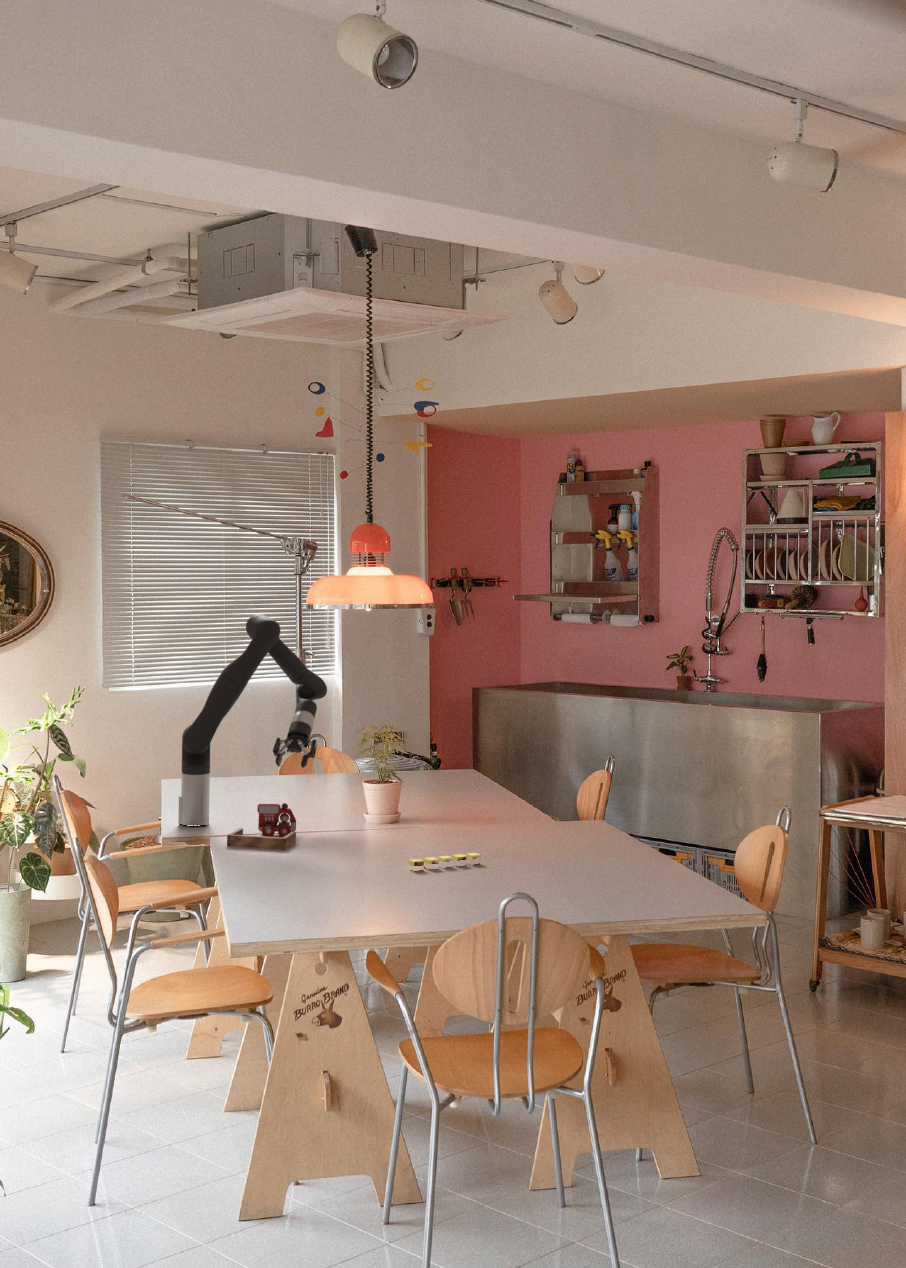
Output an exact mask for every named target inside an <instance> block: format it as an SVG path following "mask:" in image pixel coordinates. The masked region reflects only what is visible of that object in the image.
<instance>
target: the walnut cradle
mask: <svg viewBox="0 0 906 1268" xmlns="http://www.w3.org/2000/svg"><path fill="white" fill-rule="evenodd" d="M296 836H297V833H296V831H294V832H291V833H289V834H288V835H286V836H284V837H276V836H272V837H265V836H263V835H261V836H259V835H246V834H245V835H244V828H243V827H242V828H241V827H240V828H237V829H236V830H234V831H232V832H230V833H229V834H227V836H226V847H227V848H229V847H231V848H245V849H261V850H274V849H280V850H279V851H286V850H287V849H289V848H290V847H292V846H294V844H296V840H297V839H296V838H297V837H296ZM281 849H282V850H281ZM285 849H286V850H285Z"/></svg>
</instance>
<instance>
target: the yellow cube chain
mask: <svg viewBox="0 0 906 1268" xmlns="http://www.w3.org/2000/svg"><path fill="white" fill-rule="evenodd" d="M467 858H469V859H476V858H481V859H482V854H479V853H477V852H469V853H465V854H463V853H461V854H460V853H459V854H458V853H457V854H452V855H451V856H449V855H441V856H437V857H433V856H431V857H424V858H423V859H421V858H412V859H408V864H407V866H408V865H410V866H423V865H424V863H426V864H439V861H442V862H449V861H453V859H455V860H457V861H460V860H467Z"/></svg>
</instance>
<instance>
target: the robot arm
mask: <svg viewBox="0 0 906 1268" xmlns="http://www.w3.org/2000/svg"><path fill="white" fill-rule="evenodd" d="M245 624H246V625H245V631H246V633H247V635H248V637H249V638H250V639H251V640H250V642H249V644H248V645H247V647H246V649H245V650H244V651H243V652H242V653H241V654H240V655H239V656H238V657H237V658H235V659H234V660H233V661H231V662H230V663H229V664H227V666H225V667H224V669H222V671H221V672H220V674H219V676H218V678H217V679H216V680H215V682H214V684H213V686H212V688H211V690H210V692H209V694H208V696H207V699H206V701H205V704H204V706H203V708H202V709H201V711H200V713H199V714H198V715H197V717H196V718H195V720H194V721H193V722H192V724H190V725H188V726H187V727H185V729H184V730H183V733H182V736H181V740H182V741H181V782H180V783H181V786H180V787H181V788H180V789H181V793H180V795H179V796H178V824H183V825H193V826H194V825H197V826H198V825H206V826H208V825H209V824H210V793H211V792H210V790H211V788H210V786H211V785H210V783H211V743H212V741H213V739H214V736H215V734H216V732H217V730H218V729H219V726H220V724H221V723H222V721H223V720H224V718H225V717H226V716H227V714H229V712H230V711H231V709H232V708H233V707H234V705H235V704H236V702H237V701H238V699H239V698H240V696H241V694H242V693H243V691H244V690H245V688H246V687H247V685H248V683H249V682H250V680H251V678H253V675H254V673H255V672H256V670H257V669H258V668H259V666H260V664H261V663H262V661H263V660H264V659H265V658H266V656H267V655H269V656H270V657H271V658H272V659H273V660H274V662H275V663H276V664H277V665H278V667H279V668H280V669H281V671H282V672H283V673H284V674H285V675H286V677H287V678H288V679H289V681H290V682H291V683H292V684H294V685H297V687H296V691H295V692H296V707H295V711H294V713H293V716H292V719H291V721H290V725H289V728H288V731H287V734H286V735H287V736H286V738H285V739H281V738H280V737H277V738H276V740H275V743H274V746H273V748H272V753H273V756H274V757H275V764H276V765H277V767H280V766H281V764H282V761H283V757H285V756H287V755H288V754H289V753H297V754H300V753H301V754H302V755H303V756H302V758H301V762H300V766H301V768H302V769H304V768H305V767H307V765H308V762H309V761H308V760H309V759H314V758H315V757H316V752H317V747H318V744H317V739H312V740H310V738H311V734H312V732H313V729H314V721H315V718H316V714H317V711H318V706H317V704H316V702H315V700H320V699H323V698H325V696H327V692H328V686H327V684H326V682H325V680H324V679H323V678H322V677H320V676H319V675H317V674H316V673H314V672H313V671H312V670H310V669H308V667H307V666H306V665H305V663H304V662H303V661H302V660H301V659H300V658H299V657H298V655H296V653H294V652H293V651H292V649H290V648H289V646H288V645H286V644H285V642H283V641H282V639H281V638H280V635H281V626H280V624H279V623H278V622H277V621H276V620H274V619H273V618H271V617H269V616H268V615H266V614H263V613H256V614H253V615H251V616H250V617H249V618H248V619H247V621H246V623H245ZM308 747H310V750H309V752H308V750H307V748H308ZM183 825H182V826H183Z"/></svg>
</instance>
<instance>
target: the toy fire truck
mask: <svg viewBox="0 0 906 1268" xmlns="http://www.w3.org/2000/svg"><path fill="white" fill-rule="evenodd" d="M256 811H257V813H258V823H257V824H258V825H257V826H258V828H257V829H258V831H259V832H261V833H262V836H263V837H274V834H275V833H276V832H277V833H278V836H280V838H283V837H284V836H286V835H288V834H289V833H291V832H296V829H297V819H296V817H295V815H294V812H293V811H292V809H291V808H289V805H288V804H287V803H286V802H284V803H282V804H281V805H280V803H259V804H258V805H257V809H256Z"/></svg>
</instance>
